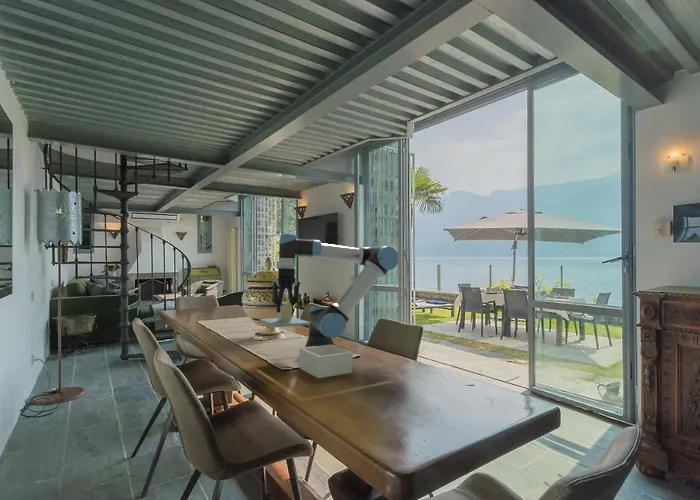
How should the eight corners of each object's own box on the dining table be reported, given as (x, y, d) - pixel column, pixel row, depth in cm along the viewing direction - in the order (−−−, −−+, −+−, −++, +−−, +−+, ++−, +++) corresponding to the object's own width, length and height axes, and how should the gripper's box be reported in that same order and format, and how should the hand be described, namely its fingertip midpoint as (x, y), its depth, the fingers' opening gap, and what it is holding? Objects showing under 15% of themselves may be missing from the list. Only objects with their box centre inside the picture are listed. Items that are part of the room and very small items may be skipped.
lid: (292, 319, 185) (293, 300, 186) (310, 324, 171) (310, 304, 172) (259, 321, 175) (260, 301, 176) (275, 327, 162) (275, 305, 162)
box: (330, 364, 170) (331, 344, 170) (351, 374, 157) (352, 352, 157) (298, 369, 161) (299, 348, 161) (318, 380, 148) (319, 356, 148)
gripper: (299, 267, 182) (297, 317, 182) (265, 267, 172) (263, 319, 172) (307, 268, 176) (305, 319, 175) (272, 267, 166) (270, 321, 165)
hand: (284, 319), depth 174 cm, fingers closed on lid, 4 cm apart
